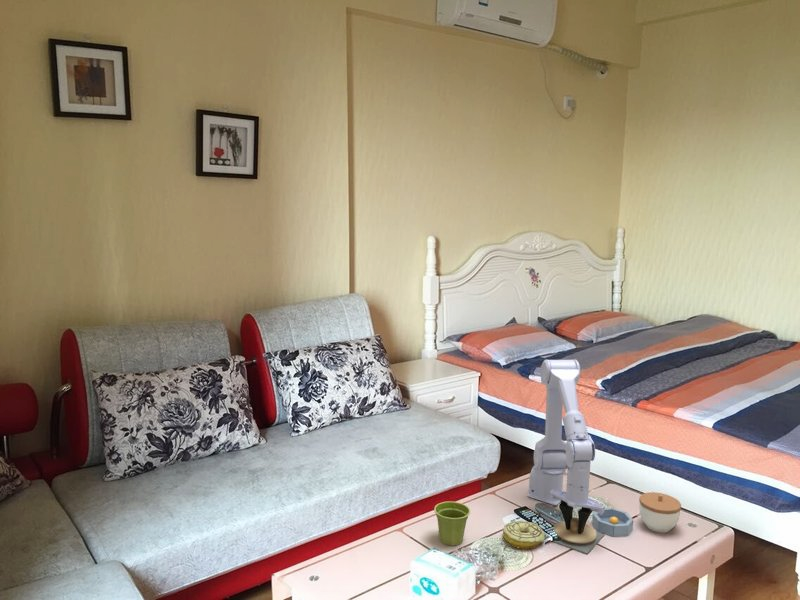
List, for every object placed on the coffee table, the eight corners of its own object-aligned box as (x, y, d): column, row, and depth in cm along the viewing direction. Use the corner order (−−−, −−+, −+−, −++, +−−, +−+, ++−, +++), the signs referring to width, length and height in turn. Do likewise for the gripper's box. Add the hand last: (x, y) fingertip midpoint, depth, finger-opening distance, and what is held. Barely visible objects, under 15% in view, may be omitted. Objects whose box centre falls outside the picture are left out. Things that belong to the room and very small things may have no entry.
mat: (543, 538, 174) (543, 537, 174) (562, 521, 183) (562, 519, 183) (587, 554, 167) (587, 553, 167) (604, 535, 176) (604, 534, 176)
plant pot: (443, 527, 179) (444, 497, 178) (474, 536, 174) (475, 506, 173) (427, 543, 171) (428, 512, 170) (460, 553, 166) (461, 521, 165)
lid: (546, 532, 174) (547, 520, 174) (565, 518, 183) (566, 506, 182) (584, 548, 167) (585, 535, 167) (603, 532, 175) (604, 520, 175)
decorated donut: (551, 546, 171) (552, 533, 170) (517, 555, 166) (518, 541, 166) (528, 527, 180) (529, 514, 179) (495, 535, 176) (496, 522, 175)
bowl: (587, 527, 180) (588, 517, 179) (601, 514, 188) (601, 503, 187) (623, 540, 174) (624, 529, 173) (636, 525, 182) (637, 514, 181)
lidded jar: (671, 518, 186) (674, 487, 184) (684, 538, 175) (687, 506, 174) (633, 516, 187) (635, 485, 185) (643, 535, 176) (645, 503, 175)
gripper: (545, 480, 173) (543, 527, 176) (599, 496, 165) (595, 545, 167) (557, 471, 179) (554, 517, 181) (609, 486, 170) (605, 534, 173)
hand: (574, 530), depth 175 cm, fingers closed on lid, 3 cm apart
